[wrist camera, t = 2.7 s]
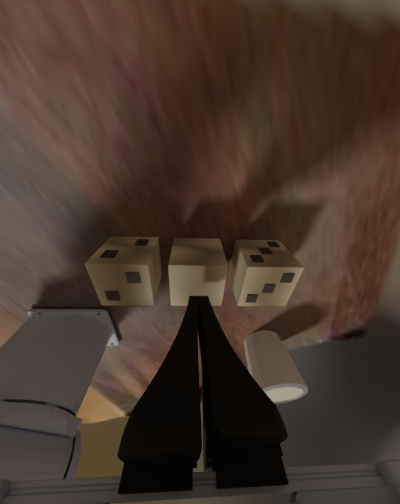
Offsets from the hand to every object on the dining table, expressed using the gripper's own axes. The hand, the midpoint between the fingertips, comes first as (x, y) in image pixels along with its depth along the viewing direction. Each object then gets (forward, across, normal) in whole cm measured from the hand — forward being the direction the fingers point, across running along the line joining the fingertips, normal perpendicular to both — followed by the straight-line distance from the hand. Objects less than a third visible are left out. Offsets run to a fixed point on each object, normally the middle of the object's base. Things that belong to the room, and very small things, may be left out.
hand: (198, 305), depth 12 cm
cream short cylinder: (+6, -11, +16) cm, 20 cm away
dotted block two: (+6, +6, 0) cm, 9 cm away
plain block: (+6, 0, 0) cm, 6 cm away
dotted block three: (+6, -6, 0) cm, 9 cm away
